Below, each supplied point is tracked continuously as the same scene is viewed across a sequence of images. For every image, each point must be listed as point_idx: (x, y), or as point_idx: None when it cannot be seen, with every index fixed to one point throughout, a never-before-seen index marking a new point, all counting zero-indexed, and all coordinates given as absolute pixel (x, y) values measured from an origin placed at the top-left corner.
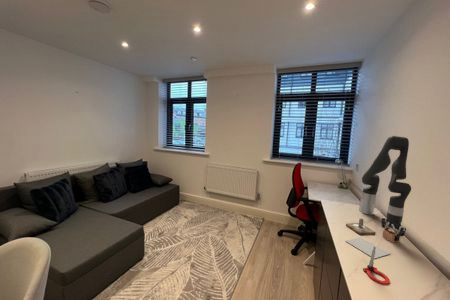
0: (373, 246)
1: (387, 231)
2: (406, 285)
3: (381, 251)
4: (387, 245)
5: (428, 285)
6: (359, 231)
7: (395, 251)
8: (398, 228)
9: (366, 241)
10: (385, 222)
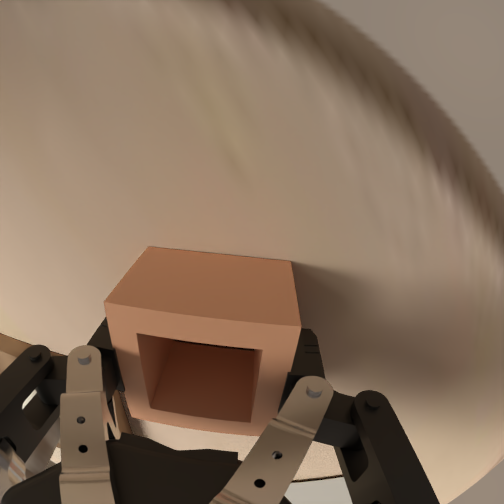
0: (287, 492)
1: (149, 386)
2: (453, 490)
3: (337, 489)
4: None
5: (499, 451)
6: None
7: None
8: (279, 487)
9: None
10: (10, 424)
